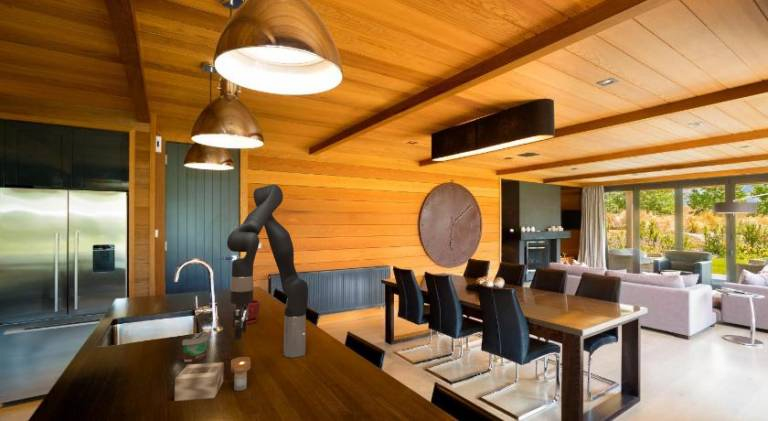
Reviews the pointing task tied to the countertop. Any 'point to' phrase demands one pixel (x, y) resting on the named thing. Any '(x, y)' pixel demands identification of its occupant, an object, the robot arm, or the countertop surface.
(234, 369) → the copper pin
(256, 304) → the plant pot
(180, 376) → the birch block
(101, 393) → the countertop surface
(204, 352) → the food container
